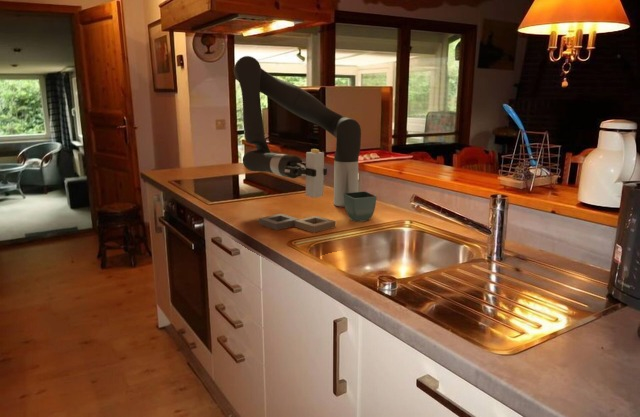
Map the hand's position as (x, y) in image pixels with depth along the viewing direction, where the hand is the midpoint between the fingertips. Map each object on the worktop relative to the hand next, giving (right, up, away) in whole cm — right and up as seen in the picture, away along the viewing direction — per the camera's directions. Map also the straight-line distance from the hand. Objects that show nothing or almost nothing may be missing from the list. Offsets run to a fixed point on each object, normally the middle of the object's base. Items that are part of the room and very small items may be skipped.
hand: (320, 172), depth 152 cm
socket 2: (-2, -17, +6) cm, 18 cm away
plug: (-2, -7, +4) cm, 8 cm away
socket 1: (-14, -17, +9) cm, 23 cm away
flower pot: (+13, -15, +15) cm, 25 cm away
